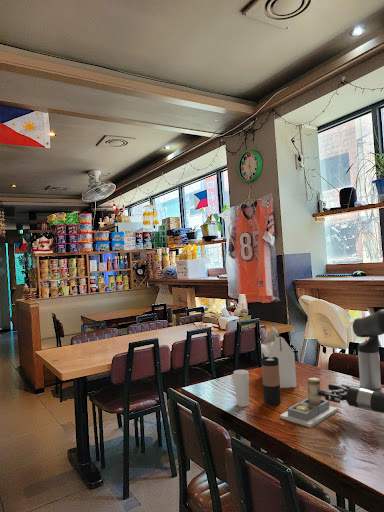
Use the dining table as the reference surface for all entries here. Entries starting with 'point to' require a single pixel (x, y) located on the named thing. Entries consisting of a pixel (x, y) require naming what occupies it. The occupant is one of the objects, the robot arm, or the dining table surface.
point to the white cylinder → (242, 387)
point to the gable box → (280, 357)
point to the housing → (308, 413)
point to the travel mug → (271, 381)
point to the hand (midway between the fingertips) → (323, 389)
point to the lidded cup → (314, 391)
